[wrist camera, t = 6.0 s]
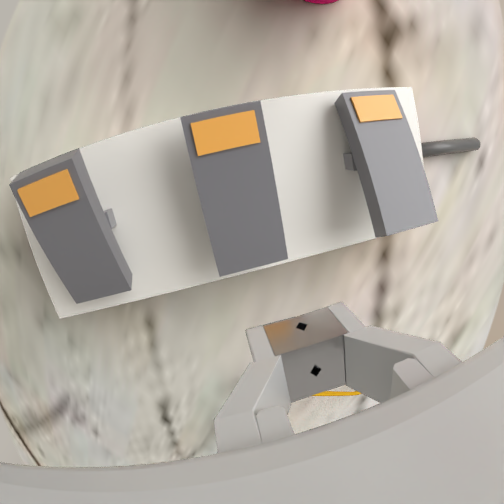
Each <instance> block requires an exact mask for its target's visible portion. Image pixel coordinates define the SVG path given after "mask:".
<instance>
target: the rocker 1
mask: <svg viewBox="0 0 504 504" xmlns="http://www.w3.org/2000/svg"><path fill="white" fill-rule="evenodd" d="M9 185H10V188H11V190H12V192H13V194H14V196H15V198H16V200H17V202H18V204H19V206H20V208H21V210H22V212H23V214H24V216H25V218H26V220H27V222H28V224H29V226H30V228H31V230H32V232H33V233H34V235H35V237H36V239H37V241H38V242H39V244H40V246H41V248H42V249H43V251H44V253H45V255H46V256H47V258H48V260H49V261H50V263H51V265H52V266H53V268H54V270H55V271H56V273H57V275H58V276H59V278H60V279H61V281H62V282H63V284H64V286H65V287H66V289H67V290H68V292H69V293H70V295H71V296H72V298H73V299H74V301H75V302H76V304H78V303H82V302H87V301H91V300H95V299H99V298H103V297H107V296H111V295H115V294H119V293H123V292H127V291H131V290H132V275H133V274H132V272H131V270H130V268H129V266H128V264H127V262H126V260H125V258H124V256H123V254H122V251H121V249H120V247H119V245H118V243H117V241H116V238H115V236H114V234H113V232H112V229H111V227H110V225H109V223H108V220H107V218H106V216H105V213H104V211H103V209H102V206H101V204H100V201H99V199H98V196H97V194H96V192H95V189H94V187H93V184H92V181H91V179H90V176H89V174H88V171H87V168H86V166H85V163H84V160H83V158H82V155H81V152H80V149H79V148H78V149H75V150H73V151H70V152H67V153H65V154H62V155H60V156H57V157H55V158H52V159H50V160H48V161H45V162H43V163H41V164H38V165H36V166H34V167H31V168H29V169H27V170H25V171H22V172H20V173H19V174H18V175H17V176H16V177H15V179H14V180H13V181H12V182H11V183H10V184H9Z"/></svg>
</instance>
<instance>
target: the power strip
mask: <svg viewBox="0 0 504 504" xmlns="http://www.w3.org/2000/svg"><path fill="white" fill-rule="evenodd" d="M376 90H395V91H396V94H397V96H398V98H399V101H400V103H401V106H402V108H403V111H404V113H405V116H406V118H407V121H408V124H409V126H410V129H411V132H412V134H413V137H414V140H415V143H416V146H417V149H418V152H419V155H420V158H421V161H422V164H423V157H428V156H435V155H442V154H449V153H457V152H465V151H473V150H478V149H479V148H480V141H479V140H478V139H477V138H465V139H454V140H444V141H435V142H426V143H421V139H420V132H419V125H418V119H417V113H416V107H415V101H414V96H413V91H412V87H390V88H366V89H350V90H338V91H327V92H317V93H308V94H300V95H292V96H285V97H278V98H271V99H265V100H259V101H260V102H261V107H262V112H263V117H264V122H265V127H266V133H267V138H268V143H269V149H270V154H271V160H272V165H273V171H274V176H275V182H276V188H277V194H278V199H279V205H280V211H281V217H282V223H283V229H284V235H285V242H286V248H287V254H288V259H286V260H283V261H279V262H275V263H271V264H267V265H264V266H260V267H256V268H252V269H248V270H244V271H240V272H237V273H233V274H229V275H225V276H221V277H220V276H219V273H218V269H217V265H216V261H215V258H214V254H213V250H212V246H211V242H210V238H209V235H208V231H207V227H206V223H205V219H204V215H203V211H202V207H201V203H200V199H199V195H198V191H197V187H196V183H195V179H194V174H193V170H192V166H191V162H190V158H189V153H188V149H187V145H186V140H185V136H184V132H183V127H182V123H181V118H180V117H178V118H174V119H171V120H167V121H163V122H159V123H156V124H152V125H149V126H145V127H142V128H138V129H135V130H132V131H129V132H125V133H122V134H119V135H116V136H113V137H110V138H107V139H104V140H101V141H98V142H95V143H93V144H90V145H87V146H84V147H82V148H79V149H80V152H81V155H82V158H83V160H84V163H85V166H86V168H87V171H88V174H89V176H90V179H91V181H92V184H93V187H94V189H95V192H96V194H97V196H98V199H99V201H100V204H101V206H102V209H103V211H104V213H105V216H106V218H107V220H108V223H109V225H110V227H111V229H112V232H113V234H114V236H115V238H116V241H117V243H118V245H119V247H120V249H121V251H122V254H123V256H124V258H125V260H126V262H127V264H128V266H129V268H130V270H131V272H132V274H133V275H132V290H131V291H127V292H123V293H119V294H115V295H111V296H107V297H103V298H99V299H95V300H91V301H87V302H82V303H78V304H76V302H75V301H74V299H73V298H72V296H71V295H70V293H69V292H68V290H67V289H66V287H65V286H64V284H63V282H62V281H61V279H60V278H59V276H58V275H57V273H56V271H55V270H54V268H53V266H52V265H51V263H50V261H49V260H48V258H47V256H46V255H45V253H44V251H43V249H42V248H41V246H40V244H39V242H38V241H37V239H36V237H35V235H34V233H33V232H32V230H31V228H30V226H29V224H28V222H27V220H26V218H25V216H24V214H23V212H22V210H21V208H20V206H19V204H18V202H17V200H16V202H17V206H18V210H19V213H20V216H21V220H22V223H23V226H24V229H25V232H26V235H27V238H28V241H29V244H30V247H31V250H32V253H33V256H34V258H35V261H36V264H37V266H38V269H39V272H40V274H41V277H42V279H43V282H44V284H45V287H46V289H47V291H48V294H49V296H50V298H51V301H52V303H53V305H54V307H55V310H56V312H57V314H58V316H59V318H60V319H61V318H66V317H70V316H74V315H79V314H83V313H87V312H91V311H96V310H100V309H104V308H108V307H113V306H117V305H121V304H125V303H129V302H133V301H137V300H141V299H146V298H150V297H154V296H158V295H162V294H166V293H170V292H174V291H178V290H182V289H186V288H190V287H194V286H198V285H202V284H206V283H210V282H214V281H218V280H221V279H225V278H229V277H233V276H237V275H241V274H245V273H249V272H252V271H256V270H260V269H264V268H268V267H272V266H275V265H279V264H283V263H287V262H290V261H294V260H298V259H302V258H305V257H309V256H313V255H317V254H320V253H324V252H328V251H331V250H335V249H339V248H342V247H346V246H350V245H353V244H357V243H360V242H364V241H368V240H371V239H375V238H378V237H375V233H374V229H373V225H372V221H371V218H370V214H369V210H368V206H367V203H366V199H365V195H364V192H363V188H362V185H361V182H360V178H359V175H358V172H357V168H356V165H355V162H354V159H353V155H352V152H351V149H350V146H349V143H348V140H347V137H346V134H345V131H344V129H343V126H342V123H341V120H340V117H339V114H338V112H337V109H336V106H335V104H334V103H335V102H336V100H337V99H338V97H339V96H340V95H341V93H345V92H358V91H376ZM253 102H255V101H253ZM247 103H249V102H247ZM242 104H244V103H242ZM237 105H238V104H237ZM232 106H233V105H232ZM227 107H228V106H227ZM222 108H223V107H222ZM217 109H218V108H217ZM212 110H214V109H212ZM208 111H209V110H208ZM203 112H205V111H203ZM199 113H200V112H199ZM195 114H196V113H195ZM190 115H192V114H190ZM186 116H188V115H186ZM182 117H183V116H182ZM423 167H424V164H423ZM17 175H18V174H17ZM17 175H15V176H12V177H10V179H11V182H12V181H13V180H14V179H15V177H16V176H17ZM15 199H16V198H15Z"/></svg>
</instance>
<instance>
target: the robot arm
mask: <svg viewBox="0 0 504 504" xmlns="http://www.w3.org/2000/svg"><path fill="white" fill-rule="evenodd" d="M245 331H246V336H247V339H248V343H249V347H250V351H251V354H252V358H253V362H252V363H250V364H249V365H248V367H247V368H246V370H245V372H244V373H243V375H242V376H241V378H240V380H239V381H238V383H237V384H236V386H235V388H234V389H233V391H232V392H231V394H230V396H229V397H228V399H227V400H226V402H225V403H224V405H223V407H222V408H221V410H220V411H219V413H218V414H217V416H216V417H215V419H214V425H215V434H216V442H217V450H218V454H213V455H207V456H202V457H196V458H189V459H183V460H176V461H169V462H160V463H151V464H141V465H129V466H113V467H45V466H30V465H18V464H9V463H1V462H0V504H504V336H503V337H502V338H500V339H499V340H497V341H496V342H494V343H493V344H491V345H490V346H489V347H487V348H485V349H484V350H482V351H480V352H479V353H477V354H475V355H474V356H472V357H470V358H469V359H467V360H465V361H464V362H462V361H461V360H460V359H458V358H457V357H456V356H455V355H454V354H453V353H452V352H451V351H450V350H449V349H447V348H446V347H445V346H444V345H443V344H442V343H441V342H438V341H434V340H429V339H425V338H421V337H416V336H412V335H408V334H404V333H399V332H395V331H391V330H387V329H383V328H379V327H375V326H371V325H370V326H367V327H366V326H365V325H364V324H363V323H362V322H361V321H360V320H359V319H358V318H357V317H356V316H355V314H354V313H353V312H352V311H351V310H350V309H349V308H348V307H347V306H346V305H345V304H344V303H343V302H338V303H336V304H333V305H330V306H327V307H325V308H322V309H319V310H316V311H313V312H309V313H306V314H303V315H300V316H297V317H292V318H288V319H284V320H280V321H276V322H273V323H269V324H265V325H260V326H257V327H253V328H250V329H246V330H245ZM343 385H346V386H348V387H350V388H352V389H354V390H356V391H358V392H360V393H362V394H364V395H366V396H368V397H370V398H372V399H374V400H376V401H378V402H380V404H377V405H375V406H373V407H370V408H368V409H365V410H363V411H360V412H358V413H355V414H353V415H350V416H348V417H345V418H342V419H339V420H337V421H334V422H331V423H328V424H325V425H323V426H320V427H317V428H314V429H310V430H307V431H304V432H301V433H298V434H294V431H293V429H292V426H291V423H290V421H289V418H288V416H287V415H288V412H289V409H290V406H291V403H292V402H295V401H298V400H301V399H303V398H306V397H309V396H312V395H315V394H318V393H321V392H324V391H327V390H330V389H334V388H337V387H340V386H343Z"/></svg>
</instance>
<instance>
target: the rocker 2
mask: <svg viewBox="0 0 504 504" xmlns="http://www.w3.org/2000/svg"><path fill="white" fill-rule="evenodd" d="M180 118H181V123H182V127H183V132H184V136H185V140H186V145H187V149H188V153H189V158H190V162H191V166H192V170H193V174H194V179H195V183H196V187H197V191H198V195H199V199H200V203H201V207H202V211H203V215H204V219H205V223H206V227H207V231H208V235H209V238H210V242H211V246H212V250H213V254H214V258H215V261H216V265H217V269H218V273H219V276H220V277H221V276H225V275H229V274H233V273H237V272H240V271H244V270H248V269H252V268H256V267H260V266H264V265H267V264H271V263H275V262H279V261H283V260H286V259H288V254H287V248H286V242H285V235H284V229H283V223H282V217H281V211H280V205H279V199H278V194H277V188H276V182H275V176H274V171H273V165H272V160H271V154H270V149H269V143H268V138H267V133H266V127H265V122H264V117H263V112H262V107H261V102H260V101H255V102H249V103H244V104H238V105H233V106H228V107H223V108H218V109H214V110H209V111H205V112H200V113H196V114H192V115H188V116H183V117H180Z"/></svg>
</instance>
